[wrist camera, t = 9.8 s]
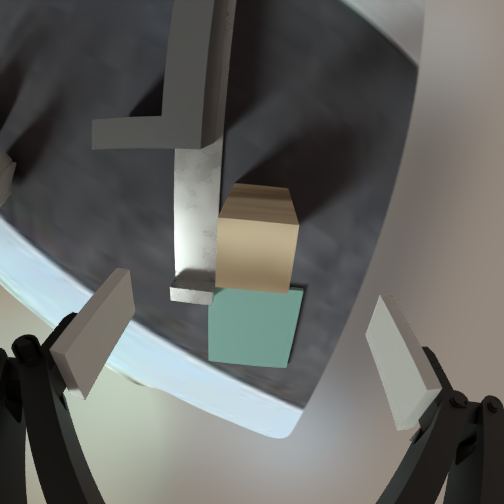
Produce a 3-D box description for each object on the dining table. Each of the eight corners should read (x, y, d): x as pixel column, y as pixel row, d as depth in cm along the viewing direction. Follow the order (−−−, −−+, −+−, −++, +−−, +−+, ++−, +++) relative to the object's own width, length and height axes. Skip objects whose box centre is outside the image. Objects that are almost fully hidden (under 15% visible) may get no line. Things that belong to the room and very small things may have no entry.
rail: (196, -37, 17) (190, -48, 15) (241, -38, 17) (239, -50, 15) (177, 287, 32) (171, 300, 30) (215, 292, 32) (212, 305, 30)
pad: (209, 279, 32) (208, 281, 31) (302, 288, 32) (303, 291, 31) (209, 357, 37) (208, 360, 36) (286, 364, 37) (286, 367, 36)
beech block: (234, 183, 27) (217, 217, 18) (288, 188, 27) (299, 225, 18) (231, 232, 29) (215, 286, 20) (281, 237, 29) (288, 293, 20)
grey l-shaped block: (139, -7, 18) (112, -28, 13) (230, -15, 18) (221, -44, 13) (124, 141, 25) (91, 149, 20) (214, 142, 25) (200, 149, 20)
